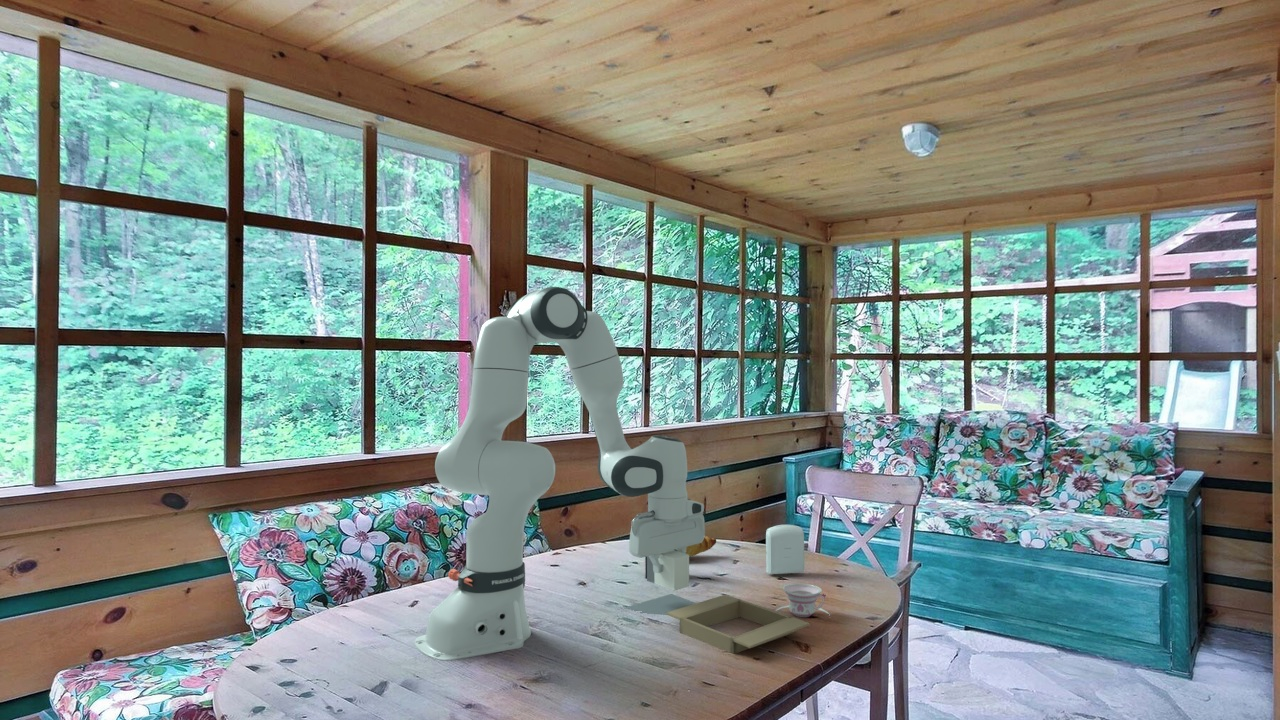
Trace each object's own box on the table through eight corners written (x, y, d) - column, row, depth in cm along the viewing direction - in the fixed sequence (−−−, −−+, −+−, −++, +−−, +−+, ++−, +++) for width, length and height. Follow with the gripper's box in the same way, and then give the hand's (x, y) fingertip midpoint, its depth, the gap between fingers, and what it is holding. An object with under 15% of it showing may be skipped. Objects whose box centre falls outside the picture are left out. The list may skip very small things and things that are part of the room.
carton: (750, 668, 131) (750, 646, 131) (666, 632, 148) (666, 612, 148) (809, 643, 142) (809, 623, 142) (725, 612, 160) (725, 594, 160)
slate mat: (664, 626, 152) (664, 623, 152) (625, 609, 162) (625, 607, 162) (711, 611, 161) (711, 608, 161) (671, 596, 171) (671, 593, 171)
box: (674, 590, 157) (674, 558, 157) (647, 580, 163) (646, 549, 163) (689, 586, 160) (689, 554, 159) (661, 576, 166) (661, 546, 166)
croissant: (650, 572, 200) (655, 552, 196) (639, 545, 208) (643, 525, 204) (719, 561, 208) (725, 541, 203) (706, 536, 215) (711, 516, 211)
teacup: (770, 622, 154) (770, 593, 154) (779, 604, 165) (779, 577, 165) (828, 629, 150) (828, 600, 150) (833, 610, 161) (833, 583, 161)
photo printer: (769, 575, 187) (769, 527, 187) (763, 570, 191) (763, 524, 191) (806, 573, 189) (806, 526, 189) (800, 568, 193) (800, 522, 193)
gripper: (641, 517, 152) (641, 582, 152) (709, 503, 165) (709, 563, 166) (622, 512, 157) (623, 575, 157) (689, 499, 170) (690, 558, 170)
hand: (668, 569), depth 161 cm, fingers closed on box, 4 cm apart
